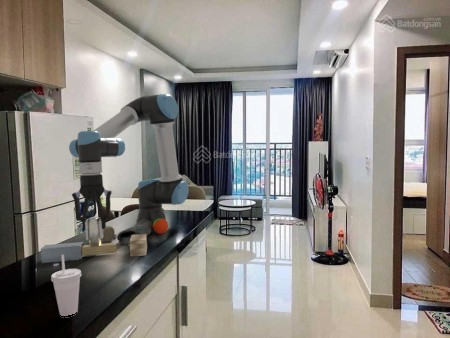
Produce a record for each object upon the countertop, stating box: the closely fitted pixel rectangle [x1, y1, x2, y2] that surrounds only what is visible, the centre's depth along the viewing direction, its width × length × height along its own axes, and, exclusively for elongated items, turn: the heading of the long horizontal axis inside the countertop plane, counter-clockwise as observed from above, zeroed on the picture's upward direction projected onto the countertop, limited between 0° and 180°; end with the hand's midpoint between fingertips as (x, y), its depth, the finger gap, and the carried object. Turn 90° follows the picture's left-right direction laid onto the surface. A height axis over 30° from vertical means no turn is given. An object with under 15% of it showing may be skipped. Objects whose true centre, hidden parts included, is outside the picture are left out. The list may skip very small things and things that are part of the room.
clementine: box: [152, 218, 169, 235], centre depth 152 cm, size 8×7×7 cm
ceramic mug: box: [101, 224, 117, 244], centre depth 143 cm, size 11×8×8 cm
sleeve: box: [40, 241, 85, 264], centre depth 120 cm, size 13×5×5 cm, turn 101°
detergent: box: [116, 219, 153, 246], centre depth 146 cm, size 13×7×25 cm
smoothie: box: [50, 255, 82, 317], centre depth 78 cm, size 6×6×14 cm
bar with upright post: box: [81, 216, 119, 257], centre depth 121 cm, size 23×4×13 cm, turn 101°
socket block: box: [129, 234, 148, 257], centre depth 125 cm, size 6×9×6 cm, turn 11°
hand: (94, 238), depth 122 cm, fingers closed on bar with upright post, 4 cm apart
